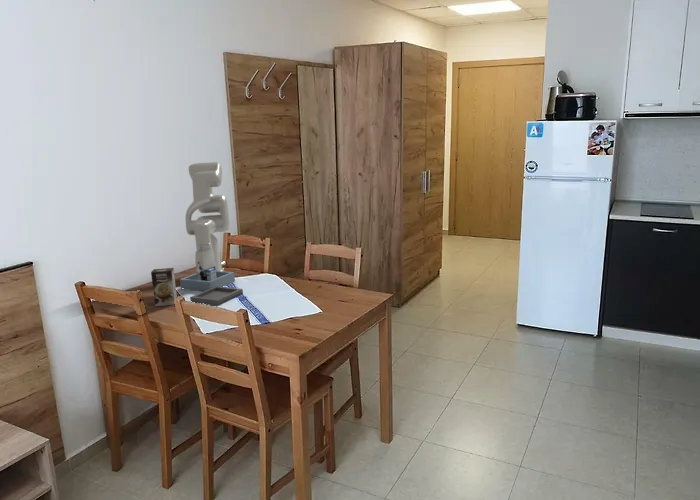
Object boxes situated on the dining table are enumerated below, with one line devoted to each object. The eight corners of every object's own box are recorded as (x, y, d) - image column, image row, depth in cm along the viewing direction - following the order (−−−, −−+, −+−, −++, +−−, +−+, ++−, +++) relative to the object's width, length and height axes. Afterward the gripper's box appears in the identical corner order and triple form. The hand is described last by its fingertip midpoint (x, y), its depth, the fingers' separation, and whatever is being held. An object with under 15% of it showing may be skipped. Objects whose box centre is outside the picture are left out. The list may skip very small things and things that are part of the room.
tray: (216, 291, 262) (215, 286, 262) (242, 293, 255) (242, 288, 255) (190, 302, 247) (190, 297, 246) (218, 305, 240) (217, 300, 239)
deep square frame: (206, 278, 286) (205, 269, 285) (235, 281, 277) (234, 272, 276) (181, 288, 269) (179, 279, 268) (210, 292, 261) (209, 282, 260)
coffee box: (154, 306, 243) (150, 272, 239) (157, 302, 249) (153, 268, 246) (175, 304, 244) (171, 270, 241) (177, 300, 251) (173, 267, 247)
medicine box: (199, 285, 273) (197, 269, 271) (204, 283, 277) (202, 267, 275) (212, 286, 270) (210, 270, 268) (217, 284, 274) (215, 268, 272)
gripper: (209, 243, 278) (213, 276, 282) (186, 250, 263) (190, 285, 267) (221, 243, 275) (224, 278, 279) (198, 251, 260) (202, 287, 264)
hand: (208, 281), depth 273 cm, fingers closed on medicine box, 4 cm apart
